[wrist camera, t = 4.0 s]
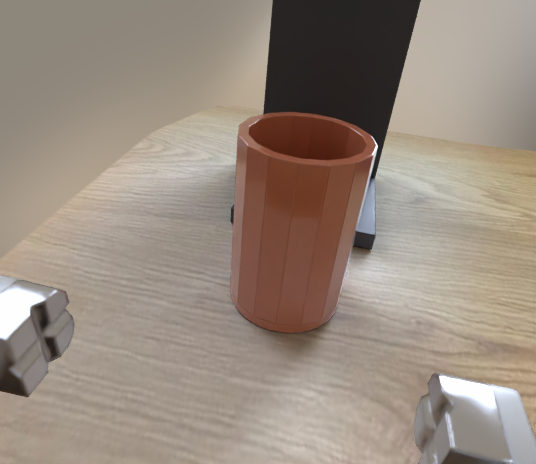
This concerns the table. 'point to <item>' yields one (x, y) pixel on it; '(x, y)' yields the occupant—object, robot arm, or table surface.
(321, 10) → the coffee maker
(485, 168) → the table surface
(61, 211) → the table surface
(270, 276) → the cup
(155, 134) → the table surface
